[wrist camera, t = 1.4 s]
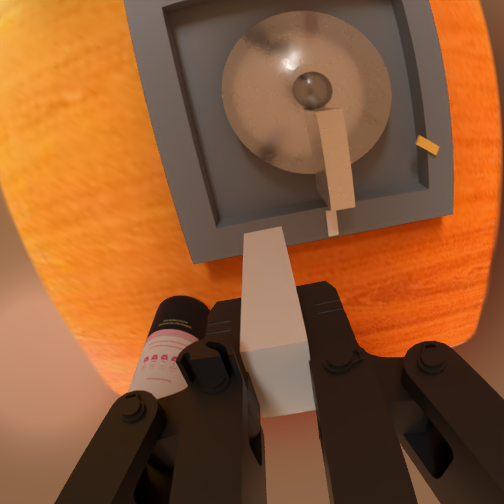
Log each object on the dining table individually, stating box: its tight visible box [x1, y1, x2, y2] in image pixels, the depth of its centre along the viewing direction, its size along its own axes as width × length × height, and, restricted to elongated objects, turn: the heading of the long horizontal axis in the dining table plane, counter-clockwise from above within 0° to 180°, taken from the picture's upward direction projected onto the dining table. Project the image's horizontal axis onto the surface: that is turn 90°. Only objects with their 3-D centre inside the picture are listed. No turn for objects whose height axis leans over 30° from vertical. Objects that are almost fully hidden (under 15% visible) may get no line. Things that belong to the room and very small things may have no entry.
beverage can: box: [128, 296, 210, 399], centre depth 29 cm, size 6×7×15 cm
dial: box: [222, 11, 392, 211], centre depth 22 cm, size 16×14×7 cm
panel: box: [124, 0, 454, 264], centre depth 24 cm, size 26×26×4 cm
